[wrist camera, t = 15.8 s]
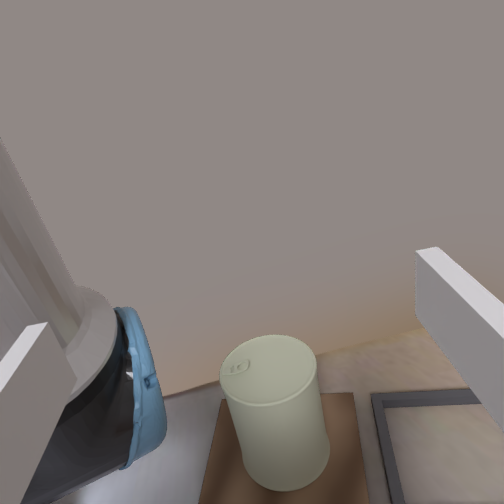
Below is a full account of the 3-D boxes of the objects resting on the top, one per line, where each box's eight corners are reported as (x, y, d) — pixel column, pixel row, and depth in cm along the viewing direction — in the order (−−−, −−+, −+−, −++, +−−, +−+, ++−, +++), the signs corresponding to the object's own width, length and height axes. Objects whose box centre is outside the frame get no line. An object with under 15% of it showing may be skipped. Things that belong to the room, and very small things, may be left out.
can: (243, 418, 46) (220, 337, 41) (322, 407, 45) (309, 323, 40) (241, 498, 37) (212, 408, 32) (338, 486, 37) (324, 392, 32)
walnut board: (197, 523, 37) (195, 517, 37) (223, 405, 49) (221, 399, 49) (372, 525, 34) (371, 518, 34) (353, 398, 47) (352, 392, 46)
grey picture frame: (397, 531, 33) (397, 523, 33) (371, 401, 46) (370, 393, 45) (583, 534, 31) (586, 525, 30) (502, 395, 43) (503, 387, 43)
